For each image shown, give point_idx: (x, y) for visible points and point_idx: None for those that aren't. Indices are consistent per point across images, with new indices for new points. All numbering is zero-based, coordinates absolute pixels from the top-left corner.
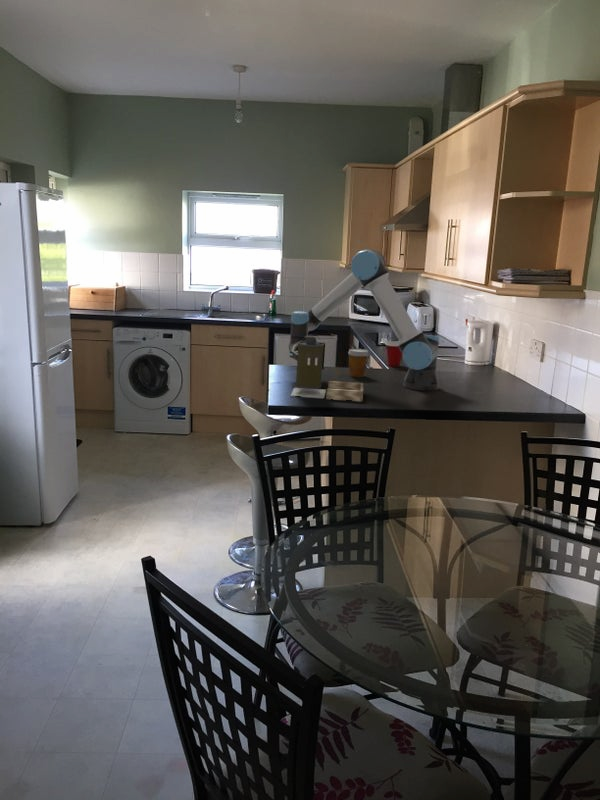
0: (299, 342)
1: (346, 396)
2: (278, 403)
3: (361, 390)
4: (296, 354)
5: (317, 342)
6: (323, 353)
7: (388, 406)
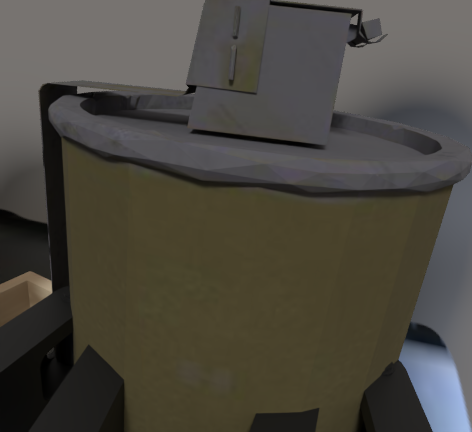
0: (440, 149)
1: None
2: (437, 379)
3: (16, 282)
4: (423, 414)
5: (169, 91)
6: (62, 231)
7: (14, 255)
